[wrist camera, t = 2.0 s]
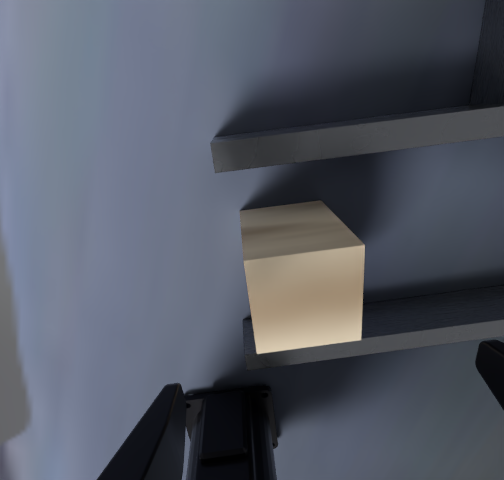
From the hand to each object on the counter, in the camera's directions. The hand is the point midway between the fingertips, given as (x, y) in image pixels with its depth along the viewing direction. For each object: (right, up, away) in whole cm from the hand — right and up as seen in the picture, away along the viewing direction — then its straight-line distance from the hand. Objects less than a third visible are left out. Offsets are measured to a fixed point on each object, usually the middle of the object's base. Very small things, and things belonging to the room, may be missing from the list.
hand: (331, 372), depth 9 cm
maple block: (-1, +4, +8) cm, 9 cm away
